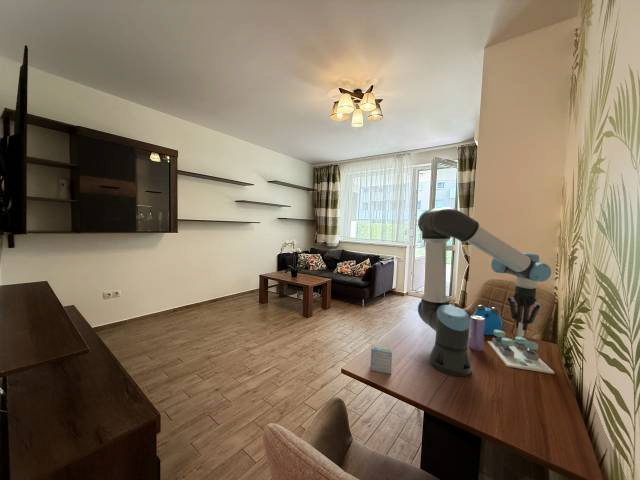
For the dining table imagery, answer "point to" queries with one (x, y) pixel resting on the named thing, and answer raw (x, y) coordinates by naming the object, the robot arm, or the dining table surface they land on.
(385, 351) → the medicine box
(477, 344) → the beverage can
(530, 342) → the button
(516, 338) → the button
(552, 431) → the dining table surface
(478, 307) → the alarm clock
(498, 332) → the button
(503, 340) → the button
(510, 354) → the board
